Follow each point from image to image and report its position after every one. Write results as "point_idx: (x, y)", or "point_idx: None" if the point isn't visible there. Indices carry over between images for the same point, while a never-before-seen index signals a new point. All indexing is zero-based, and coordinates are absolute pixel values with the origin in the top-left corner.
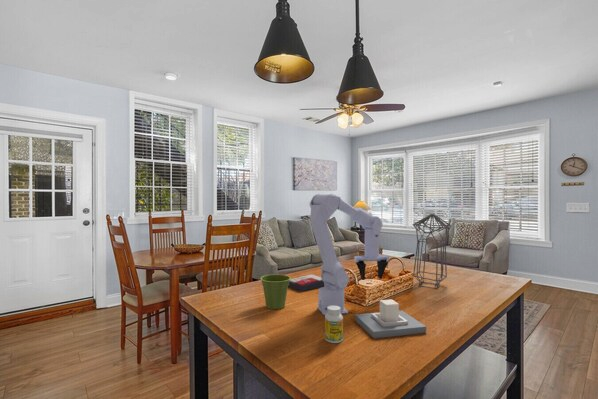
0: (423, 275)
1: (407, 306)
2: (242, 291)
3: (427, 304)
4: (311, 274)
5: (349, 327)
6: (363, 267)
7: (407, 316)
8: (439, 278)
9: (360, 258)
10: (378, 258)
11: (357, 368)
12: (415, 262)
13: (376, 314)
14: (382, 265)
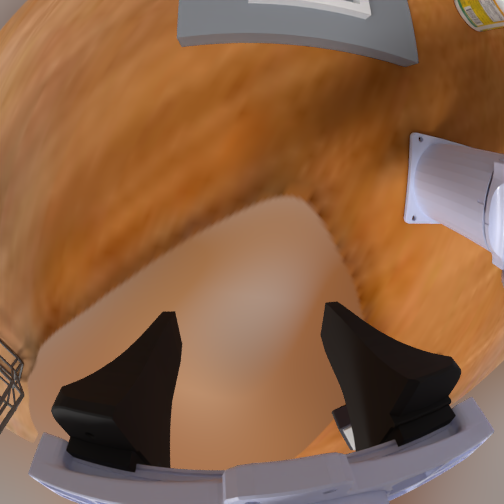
0: (8, 393)
1: (92, 164)
2: (498, 351)
3: (18, 185)
4: (354, 449)
5: (432, 34)
6: (407, 356)
7: None
8: None
9: (462, 440)
10: (196, 493)
11: None
12: (1, 424)
13: (349, 2)
14: (132, 393)
